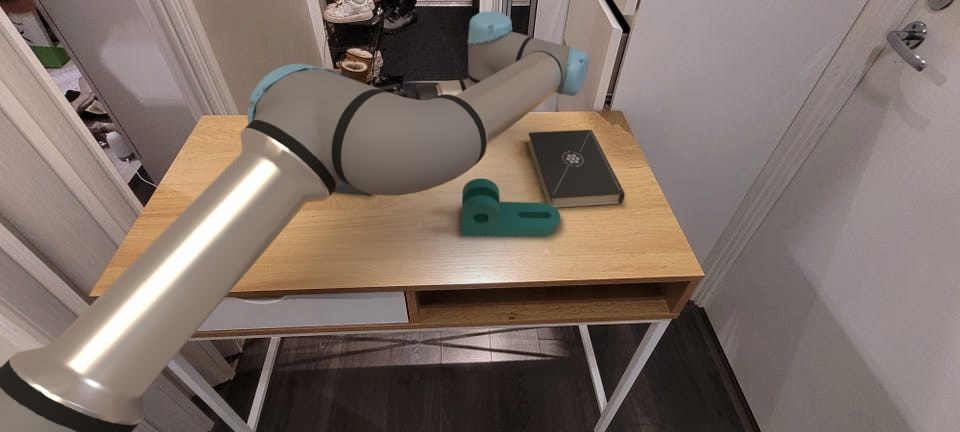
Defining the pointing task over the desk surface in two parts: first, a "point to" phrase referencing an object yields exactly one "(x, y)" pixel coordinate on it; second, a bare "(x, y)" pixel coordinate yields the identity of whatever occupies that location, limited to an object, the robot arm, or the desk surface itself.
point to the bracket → (503, 214)
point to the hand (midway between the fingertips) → (312, 115)
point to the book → (574, 169)
